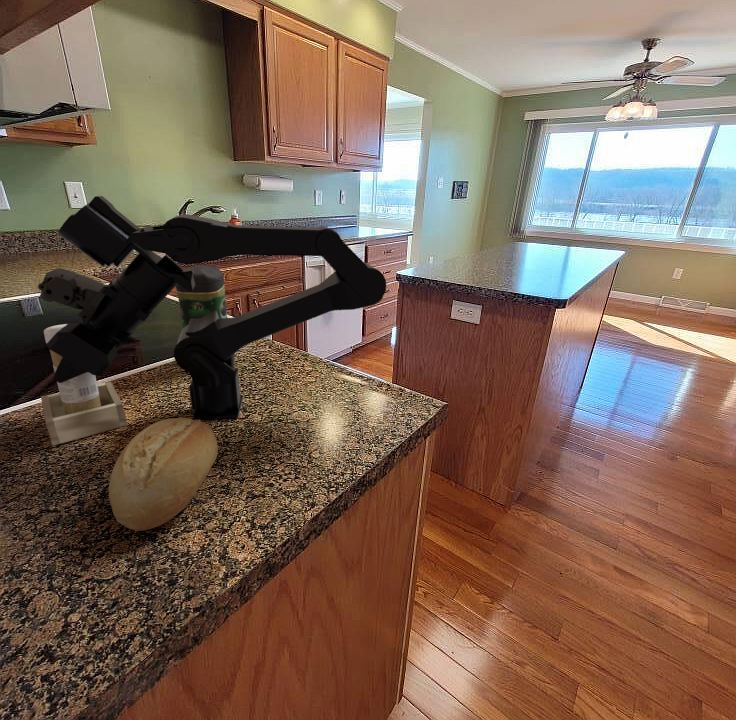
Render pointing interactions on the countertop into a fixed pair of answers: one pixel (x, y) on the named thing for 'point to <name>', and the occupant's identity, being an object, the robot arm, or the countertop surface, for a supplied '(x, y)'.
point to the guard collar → (83, 416)
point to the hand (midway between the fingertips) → (63, 373)
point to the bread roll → (161, 472)
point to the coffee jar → (203, 295)
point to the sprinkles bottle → (74, 384)
